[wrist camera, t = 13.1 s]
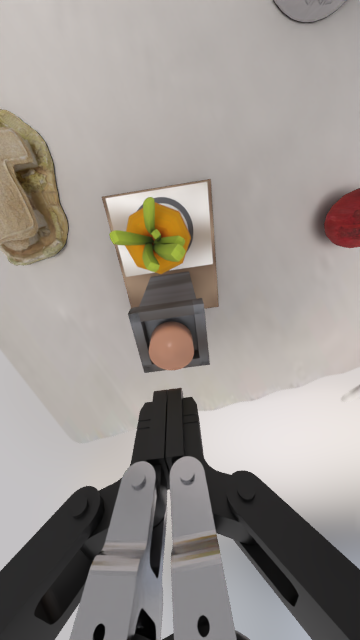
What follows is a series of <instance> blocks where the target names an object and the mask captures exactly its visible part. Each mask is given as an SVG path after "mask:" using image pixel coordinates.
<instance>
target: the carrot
mask: <svg viewBox="0 0 360 640" xmlns="http://www.w3.org/2000/svg"><path fill="white" fill-rule="evenodd" d="M109 235H110V239H111V241H112V242H113V244H116V245H125V247H126V248H127V250H128V252H129V254H130V255H131V257H132V259H133V260H134V262H135V264H136V265H137V267H140V268H143V269H146V270H149V271H152V272H155V273H159V274H163V273H165V272H167V271H169V270H170V269H172V268H174V267H176V266H178V265H180V264H182V263H183V261H184V258H185V255H186V252H187V249H188V246H189V243H190V240H191V236H190V234H189V231H188V229H187V227H186V225H185V222H184V220H183V218H182V216H181V213H180V211H177V210H174V209H172V208H169V207H166V206H164V205H161V204H158V203H156V202H155V201H154V198H152V197H148V198H146V199H145V201H144V202H143V208H142V209H140V210H138V211H137V212H135V213H133V214H132V215H130V216H129V219H128V224H127V229H126V231H119V230H114V231H112V232H111V233H110V234H109Z"/></svg>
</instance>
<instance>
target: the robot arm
mask: <svg viewBox="0 0 360 640" xmlns="http://www.w3.org/2000/svg"><path fill="white" fill-rule="evenodd" d="M274 1H275V3H276V4H277V5H278V6H279V8H280V9H281V10H282V12H283V13H285V14H286V15H288V16H289V17H290V18H292V19H294V20H297V21H301V22H314V21H317V20H320V19H323V18H325V17H327V16H328V15H330V14H331V13H333V12H334V11H336V10H337V9H338V8H339V7H340V6H341V5H342V4H343V3H344V2H345V1H346V0H274ZM138 421H139V422H138V426H137V432H136V438H135V444H134V449H133V455H132V460H131V464H130V467H129V468H128V469H127V470H126V472H125V473H124V475H123V477H122V478H121V479H120V480H118V481H117V482H115V483H114V484H112V485H109V486H107V487H106V488H103V489H101V490H100V491H98V490H97V489H96V488H94V487H92V486H86V487H83V488H80V489H79V490H77V491H76V492H75V493H74V494H73V495H71V497H70V498H69V499H68V500H67V501H66V502H65V503H64V504H63V505H62V506H61V507H60V508H59V510H57V511H56V512H55V514H54V515H53V516H52V517H51V518H50V519H49V520H48V521H47V522H46V523H45V524H44V525H43V526H42V527H41V529H40V530H39V531H38V532H37V533H36V534H35V535H34V536H33V537H32V538H31V539H30V540H29V541H28V542H27V543H26V545H25V546H24V547H23V548H22V549H21V550H20V551H19V552H18V553H17V554H16V555H15V556H14V557H13V558H12V559H11V560H10V562H9V563H8V564H7V565H6V566H5V567H4V568H3V569H2V570H1V571H0V640H55V638H56V637H57V635H58V634H59V632H60V631H61V629H62V628H63V626H64V625H65V623H66V622H67V620H68V619H69V618H70V616H71V615H72V613H73V612H74V610H75V609H76V607H77V606H78V604H79V603H80V605H79V608H78V612H77V615H76V618H75V622H74V625H73V629H72V632H71V636H70V640H160V639H161V625H162V611H163V588H162V571H163V558H164V546H165V534H166V521H167V490H168V489H170V496H171V517H172V537H173V549H172V553H171V577H172V602H173V625H174V633H173V634H171V635H170V636H168V637H166V638H164V639H162V640H250V639H249V638H247V637H246V636H244V635H243V634H241V633H239V632H238V631H236V630H235V628H234V623H233V617H232V612H231V607H230V602H229V596H228V591H227V586H226V581H225V575H224V570H223V565H222V560H221V554H220V550H219V544H218V540H217V535H216V533H218V534H221V535H223V536H226V537H229V538H231V539H234V541H235V542H236V544H237V545H238V546H239V547H240V549H241V550H242V551H243V552H244V554H245V555H246V556H247V557H248V559H249V560H250V561H251V563H252V564H253V565H254V566H255V568H256V569H257V570H258V572H259V573H260V574H261V575H262V577H263V578H264V579H265V580H266V582H267V583H268V584H269V585H270V587H271V588H272V589H273V590H274V592H275V593H276V594H277V596H278V597H279V598H280V599H281V601H282V602H283V603H284V605H285V606H286V607H287V608H288V610H289V611H290V612H291V613H292V615H293V616H294V617H295V618H296V620H297V621H298V622H299V624H300V625H301V626H302V627H303V628H304V630H305V631H306V632H307V634H308V635H309V636H310V637H311V639H312V640H360V570H359V569H358V568H357V567H356V566H355V565H354V564H353V563H352V562H351V561H350V560H348V559H347V558H346V557H345V556H344V555H343V554H342V553H341V552H340V551H339V550H337V549H336V548H335V547H334V546H333V545H332V544H331V543H330V542H328V540H326V539H325V538H324V537H323V536H322V535H321V534H319V532H318V531H316V530H315V529H314V528H313V527H312V526H311V525H310V524H309V523H308V522H306V521H305V520H304V519H303V518H302V517H301V516H300V515H299V514H298V513H296V512H295V511H294V510H293V509H292V508H291V507H290V506H289V505H288V504H287V503H286V502H284V501H283V500H282V499H281V498H280V497H279V496H278V495H277V494H276V493H274V492H273V491H272V490H271V489H270V488H269V487H268V486H267V485H266V484H265V483H263V482H262V481H261V480H260V479H259V478H258V477H257V476H255V475H254V474H253V473H251V472H248V471H237V472H235V473H233V474H232V475H229V474H225V473H222V472H219V471H216V470H214V469H213V468H211V467H210V466H209V465H208V464H207V462H206V461H205V459H204V456H203V447H202V439H201V432H200V423H199V416H198V409H197V404H196V402H195V401H194V399H193V398H192V397H187V398H183V393H182V388H177V389H169V390H161V391H154V395H153V402H147V403H145V404H144V406H143V407H142V409H141V411H140V415H139V420H138Z"/></svg>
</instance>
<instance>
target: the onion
mask: <svg viewBox="0 0 360 640" xmlns="http://www.w3.org/2000/svg"><path fill="white" fill-rule="evenodd" d="M324 227H325V233H326V236H327V237H328V238H329V239H330V241H331V242H332V243H334V244H336V245H338V246H342V247H347V248H354V247H360V188H359V189H356V190H354V191H352V192H350V193H348V194H346V195H344V196H343V197H342V198H340V199H339V200H338V201H337V202H336V203H335V204H334V205H333V206H332V207H331V209H330V210H329V212H328V214H327V216H326V219H325V223H324Z"/></svg>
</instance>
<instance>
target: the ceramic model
mask: <svg viewBox="0 0 360 640" xmlns="http://www.w3.org/2000/svg"><path fill="white" fill-rule="evenodd" d="M67 233H68V224H67V219H66V216H65V214H64V212H63V210H62V208H61V206H60V203H59V198H58V191H57V187H56V182H55V175H54V167H53V162H52V158H51V156H50V154H49V151H48V148H47V146H46V143H45V141H44V140H43V139H42V137H41V136H40V135H39V134H38V133H37V132H36V131H35V130H33V129H32V128H30V126H29V125H27V124H26V123H24V122H23V121H22V120H21V119H20V118H19V117H17V116H15V115H14V114H13V113H11V112H9V111H7V110H1V109H0V250H1V251H2V252H3V253H4V254H5V255H6V256H7V258H8V260H9V262H10V263H12V264H14V265H16V266H17V265H29V264H32V263H34V262H36V261H39V260H43V259H46V258H49V257H52V256H55V255H56V254H57V253H58V252H59V251H60V250H61V249H62V248H63V247H64V245H65V243H66V239H67Z"/></svg>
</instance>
